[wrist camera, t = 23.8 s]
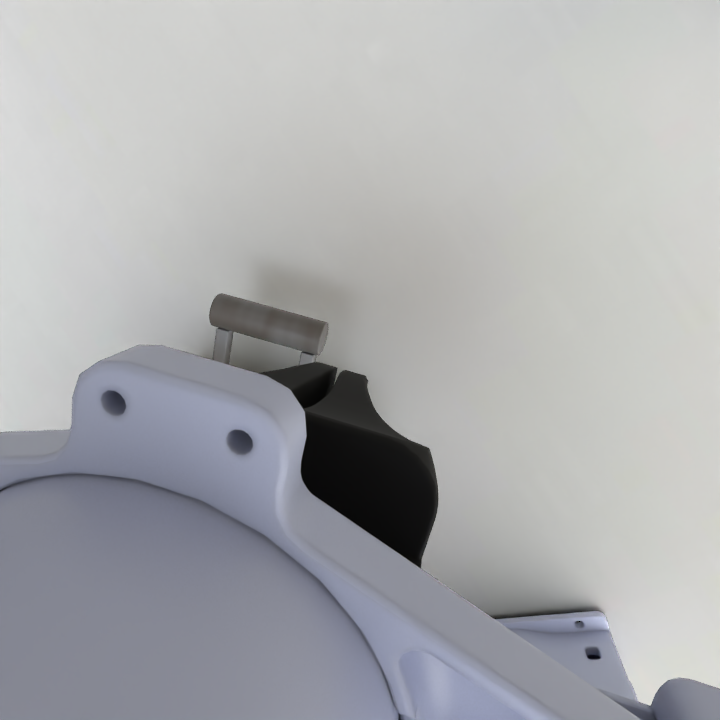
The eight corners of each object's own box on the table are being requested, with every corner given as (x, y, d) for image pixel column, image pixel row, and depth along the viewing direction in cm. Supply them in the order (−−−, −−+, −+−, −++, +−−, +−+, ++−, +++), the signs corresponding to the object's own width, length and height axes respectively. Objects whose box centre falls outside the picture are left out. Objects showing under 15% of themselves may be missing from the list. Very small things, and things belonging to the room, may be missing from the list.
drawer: (201, 270, 24) (129, 285, 18) (393, 322, 23) (376, 355, 17) (171, 538, 29) (108, 609, 24) (323, 589, 28) (293, 676, 23)
